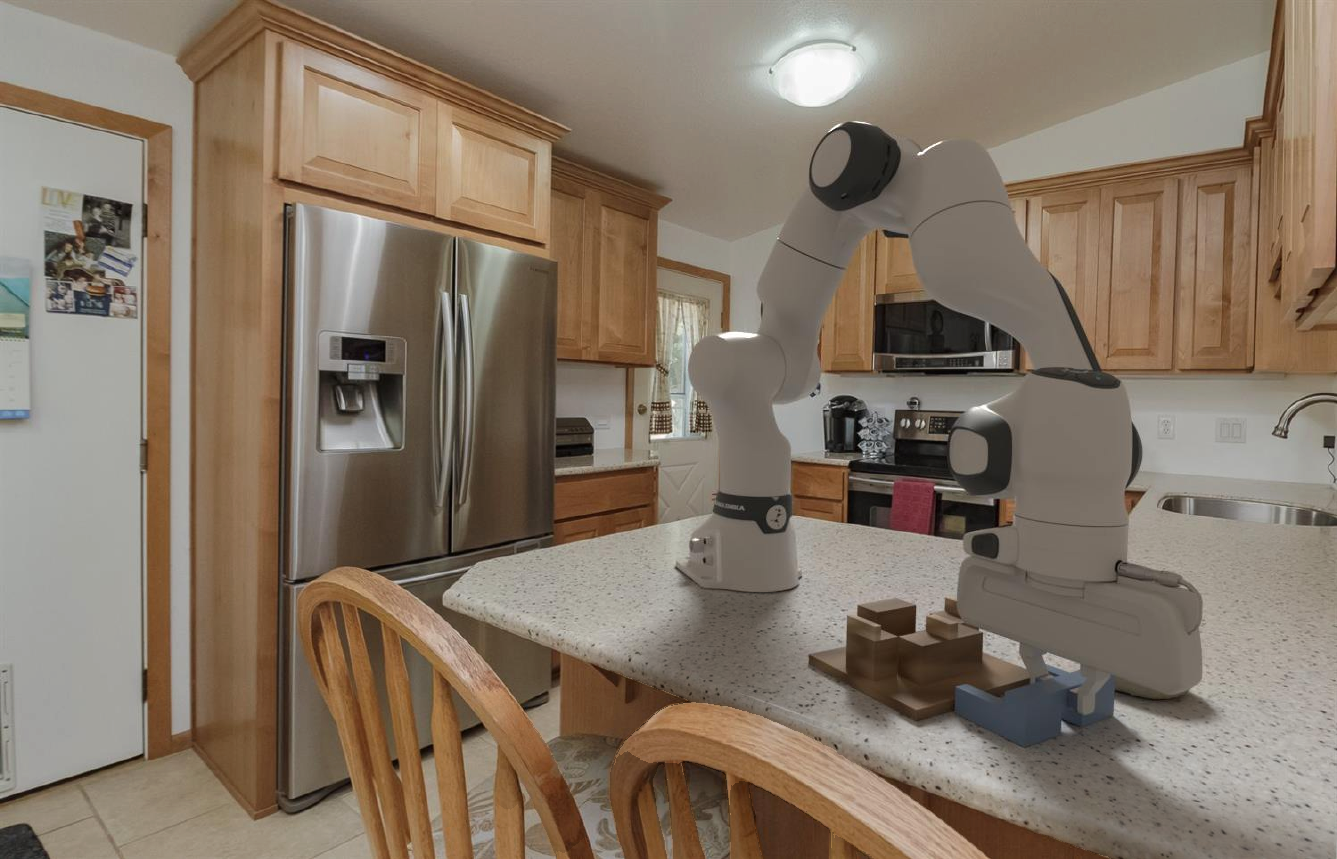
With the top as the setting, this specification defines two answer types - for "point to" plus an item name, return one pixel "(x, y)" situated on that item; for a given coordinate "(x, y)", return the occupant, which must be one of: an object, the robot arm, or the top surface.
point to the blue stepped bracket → (1032, 707)
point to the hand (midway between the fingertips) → (1061, 702)
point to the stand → (916, 658)
